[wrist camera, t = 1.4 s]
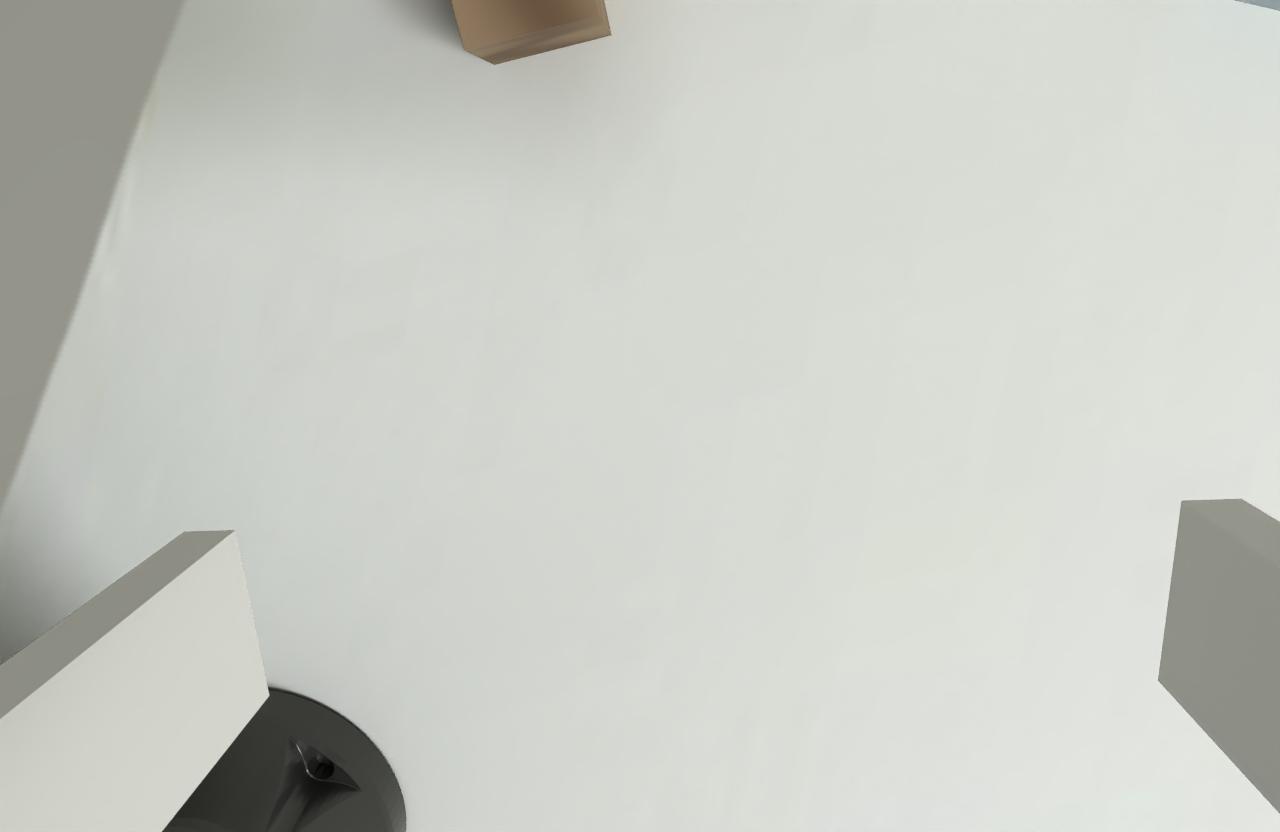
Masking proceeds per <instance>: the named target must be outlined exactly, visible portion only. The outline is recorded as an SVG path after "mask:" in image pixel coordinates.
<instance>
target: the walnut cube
mask: <svg viewBox="0 0 1280 832" xmlns="http://www.w3.org/2000/svg"><path fill="white" fill-rule="evenodd" d="M451 2H452V5H453V9H454V13H455V17H456V21H457V25H458V29H459V32H460V36H461V40H462V44H463V48H464V50H466V51H468V52H470V53H472V54H474V55H476V56H478V57H480V58H482V59H484V60H486V61H488V62H490V63H492V64H494V65H495V64H499V63H503V62H507V61H511V60H515V59H519V58H523V57H527V56H531V55H535V54H539V53H543V52H547V51H551V50H555V49H559V48H563V47H567V46H570V45H574V44H578V43H582V42H586V41H590V40H594V39H598V38H602V37H606V36H610V35H611V31H610V26H609V22H608V17H607V12H606V8H605V3H604V0H451Z"/></svg>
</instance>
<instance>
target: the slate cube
mask: <svg viewBox="0 0 1280 832" xmlns="http://www.w3.org/2000/svg"><path fill="white" fill-rule="evenodd" d="M1236 1H1240V2H1244V3H1249V4H1253V5H1257V6H1262V7H1266V8H1270V9H1275V10H1279V11H1280V0H1236Z"/></svg>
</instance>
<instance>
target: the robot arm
mask: <svg viewBox="0 0 1280 832" xmlns="http://www.w3.org/2000/svg"><path fill="white" fill-rule="evenodd" d="M1158 681H1159V682H1160V683H1161V684H1162V685H1163V686H1164V687H1165V689H1166V690H1167V691H1168V692H1169V693H1170V694H1171V695H1172V696H1173V697H1174V698H1175V699H1176V701H1177V702H1178V703H1179V704H1180V705H1181V706H1182V707H1183V708H1184V709H1185V710H1186V712H1187V713H1188V714H1189V715H1190V716H1191V717H1192V718H1193V719H1194V720H1195V721H1196V722H1197V724H1198V725H1199V726H1200V727H1201V728H1202V729H1203V730H1204V731H1205V732H1206V733H1207V735H1208V736H1209V737H1210V738H1211V739H1212V740H1213V741H1214V742H1215V743H1216V744H1217V745H1218V747H1219V748H1220V749H1221V750H1222V751H1223V752H1224V753H1225V754H1226V755H1227V756H1228V758H1229V759H1230V760H1231V761H1232V762H1233V763H1234V764H1235V765H1236V766H1237V767H1238V768H1239V770H1240V771H1241V772H1242V773H1243V774H1244V775H1245V776H1246V777H1247V778H1248V779H1249V781H1250V782H1251V783H1252V784H1253V785H1254V786H1255V787H1256V788H1257V789H1258V790H1259V791H1260V793H1261V794H1262V795H1263V796H1264V797H1265V798H1266V799H1267V800H1268V801H1269V802H1270V804H1271V805H1272V806H1273V807H1274V808H1275V809H1276V810H1277V811H1278V812H1279V813H1280V522H1279V521H1277V520H1276V519H1274V518H1272V517H1271V516H1269V515H1267V514H1266V513H1264V512H1262V511H1261V510H1259V509H1257V508H1256V507H1254V506H1252V505H1251V504H1249V503H1247V502H1246V501H1244V500H1242V499H1222V500H1190V501H1181V509H1180V517H1179V524H1178V532H1177V539H1176V547H1175V555H1174V562H1173V570H1172V578H1171V585H1170V593H1169V600H1168V608H1167V616H1166V623H1165V631H1164V639H1163V646H1162V654H1161V662H1160V669H1159V677H1158ZM0 832H406V811H405V805H404V800H403V796H402V793H401V790H400V787H399V784H398V782H397V780H396V777H395V775H394V773H393V772H392V770H391V768H390V766H389V765H388V763H387V762H386V760H385V759H384V757H383V756H382V754H381V753H380V752H379V751H378V749H377V748H376V747H375V746H374V745H373V744H372V742H371V741H370V740H369V739H368V738H367V737H366V736H365V735H364V734H362V733H361V732H360V731H359V730H358V729H357V728H356V727H354V726H353V725H352V724H350V723H349V722H348V721H346V720H345V719H343V718H342V717H340V716H339V715H337V714H335V713H334V712H332V711H330V710H329V709H327V708H325V707H323V706H321V705H319V704H316V703H314V702H312V701H309V700H306V699H304V698H301V697H298V696H295V695H291V694H287V693H283V692H279V691H273V690H268V686H267V681H266V676H265V671H264V667H263V662H262V657H261V652H260V647H259V642H258V638H257V633H256V628H255V623H254V618H253V613H252V609H251V604H250V599H249V594H248V589H247V584H246V580H245V575H244V570H243V565H242V560H241V555H240V551H239V546H238V541H237V536H236V531H235V530H226V531H194V532H183V533H182V534H181V535H179V536H178V537H176V538H175V539H174V540H172V541H171V542H170V543H168V544H167V545H165V546H164V547H163V548H161V549H160V550H159V551H157V552H156V553H154V554H153V555H152V556H150V557H149V558H148V559H146V560H145V561H143V562H142V563H141V564H139V565H138V566H137V567H135V568H134V569H132V570H131V571H130V572H128V573H127V574H125V575H124V576H123V577H121V578H120V579H119V580H117V581H116V582H114V583H113V584H112V585H110V586H109V587H108V588H106V589H105V590H103V591H102V592H101V593H99V594H98V595H97V596H95V597H94V598H92V599H91V600H90V601H88V602H87V603H86V604H84V605H83V606H81V607H80V608H79V609H77V610H76V611H75V612H73V613H72V614H70V615H69V616H68V617H66V618H65V619H63V620H62V621H61V622H59V623H58V624H57V625H55V626H54V627H52V628H51V629H50V630H48V631H47V632H46V633H44V634H43V635H41V636H40V637H39V638H37V639H36V640H35V641H33V642H32V643H30V644H29V645H28V646H26V647H25V648H24V649H22V650H21V651H19V652H18V653H17V654H15V655H14V656H13V657H11V658H10V659H8V660H7V661H6V662H4V663H3V664H1V665H0Z"/></svg>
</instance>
